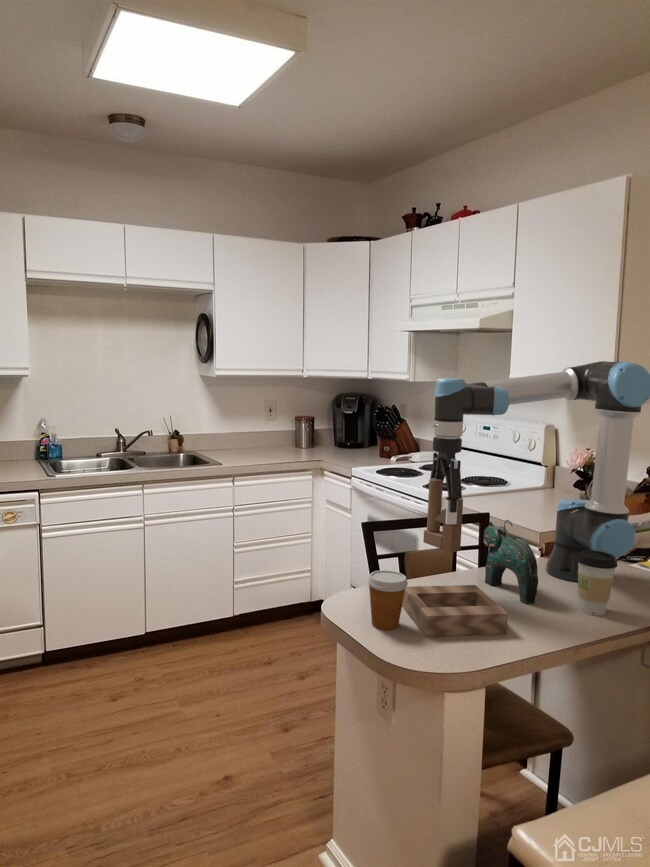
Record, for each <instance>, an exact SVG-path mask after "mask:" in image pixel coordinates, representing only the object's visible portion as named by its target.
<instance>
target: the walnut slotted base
mask: <svg viewBox="0 0 650 867" xmlns="http://www.w3.org/2000/svg"><path fill="white" fill-rule="evenodd" d="M402 608H403V610H404V611H405V612H406V613H407V615H408V616H409V618H410V619H411V621H413V622H414V624H415V625H416V627H417V628H418V629H419V630H420V632H421V633H422V634H423V636H424V637H425V638H432V637H433V638H435V637H436V638H437V637H455V636H456V637H458V636H459V637H460V636H461V637H462V636H487V635H507V632H508V623H509V622H508V619H509V612H507V611H506V610H505V609H504V608H502V607H501V606H500V605H499V604H498V603H497V602H496V601H495V600H493V599H492V598H491V597H490V596H489V594H487V593H486V592H485V591H484V590H482V589H481V588H480V587H479V586H478V585H476V584H467V585H465V584H461V585H459V584H458V585H457V584H456V585H455V584H454V585H426V586H425V585H424V586H423V585H422V586H420V585H419V586H418V585H417V586H413V585H412V586H407V587H406V588H405V593H404V599H403V604H402Z"/></svg>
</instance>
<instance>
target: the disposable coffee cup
mask: <svg viewBox="0 0 650 867" xmlns="http://www.w3.org/2000/svg"><path fill="white" fill-rule="evenodd" d="M367 584H368V587H369V602H370V613H371V614H370V615H371V625H372V626H373V627H374V628H376V629H379V630H382V631H383V630H384V631H392V630H396V629H398V628H399V623H400V619H401V614H402V608H403V607H402V604H403V599H404V593H405V588H406V587H408V585H409V583H408V580H407V576H406V575H404V574H403V573H401V572H398V571H395V570H385V569H384V570H374V571H372V572H371V573H370V574H369V577H368V578H367Z"/></svg>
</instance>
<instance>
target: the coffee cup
mask: <svg viewBox="0 0 650 867" xmlns="http://www.w3.org/2000/svg"><path fill="white" fill-rule="evenodd" d="M577 561H578V569H579V570H578V585H577V587H578V588H577V589H578V597H579V598H578V601H579V602H578V603H579V604H578V607H579V611H580V612H582V613H583V614H587V615H590V616H594V617H595V616H596V617H599V616H604V615H605V614H606V611H607V606H608V603H609V600H610V595H611V591H612V588H613V584H614V578H615V571H616V568H617V567H618V566H619V565H618V561H617V558H615V557H614V556H613V555H611V554H608V553H605V552H600V551H592V550H586V551H581V552H580V554H579V556H578V557H577Z"/></svg>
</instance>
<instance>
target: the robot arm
mask: <svg viewBox="0 0 650 867" xmlns="http://www.w3.org/2000/svg"><path fill="white" fill-rule="evenodd" d="M556 399H558V400H559V399H565V400H567V401H576V400H579V401H580V400H582V401H583V400H585V401H594V402H595V404H594V411H596V413H597V414H598V415H599V421H598V422H599V423H598V432H597V442H596V452H595V459H594V468H593V477H592V487H591V496H590V499H576V498H574V499H573V498H570V499H568V498H567V499H561V500H560V501H559V502H558V504H557V508H556V522H555V532H554V533H555V534H554V535H555V536H554V544H553V545H554V546H553V549H552V551H551V553H550V555H549V557H548V560H547V562H546V568H545V569H546V570H545V571H546V573H548V574H549V575H550V576H552V577H555V578H557V579H561V580H565V581H570V582H578V570H579V569H578V561H577V557H578V556H579V554H580V552H581V551H586V550H592V551H600V552H605V553H608V554H611V555H613V556H614V557H615V559H618V558H620V557H623V556H624V555H625V554H626V553H628V552H629V551H630V550H631V549H632V548H633V545H634V544H635V540H636V531H635V528H634V527H633V525H632V524H631V523H630V522H629V515H630V510H629V509H628V507H627V506H626V505H625V497H626V489H627V481H628V472H629V463H630V455H631V454H630V453H631V445H632V436H633V428H634V420H635V419H636V417H638V416H639V415H640V414H641V411H642V406H644V405H645V404H646V403H647V401H648V400H650V372H649V371H648V370H647V369H646V368H645V367H644V366H642V365H641V364H638V363H635V362H632V361H631V362H630V361H606V360H605V361H604V360H603V361H595V362H590V363H586V364H581V365H575V366H571V367H565V368H563V370H562V371H560V372H559V371H558V372H552V373H551V372H550V373H542V374H533V375H526V376H521V377H520V376H519V377H511V378H503V379H495V380H489V381H480V382H473V383H466V381H465V379H463V378H453V377H451V378H450V377H448V378H447V377H446V378H445V377H441V378H439V379H437V381H436V386H435V392H434V417H433V418H434V422H433V424H432V428H433V435H434V437H433V439H432V451H434V452H433V455H432V458H433V459H432V465H431V471H430V478H429V480H430V479H432V478H435V479H442V490H444V486H443V483H444V480H445V483H446V491H447V497H445V500H446V505H445V506H446V507H445V508H446V524H456V523H457V504H458V500H459V499H463V492H462V479H461V478H462V476H461V475H462V474H461V466H462V465H461V463H462V462H461V460H457V459H456V454H459V453H460V452H462V447H463V445H462V443H463V439H462V438H461V437H462V436H463V432H464V431H463V430H464V415H465V416H466V415H468V416H469V415H473V416H474V415H475V416H477V415H478V416H481V415H482V416H501V415H504V414H506V413H507V411H508V409H509V406H510V405H518V404H525V403H526V404H527V403H534V402H543V401H549V400H556ZM442 504H443V500H442V501H441V512H442V511H443V510H442V509H443V505H442Z"/></svg>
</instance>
